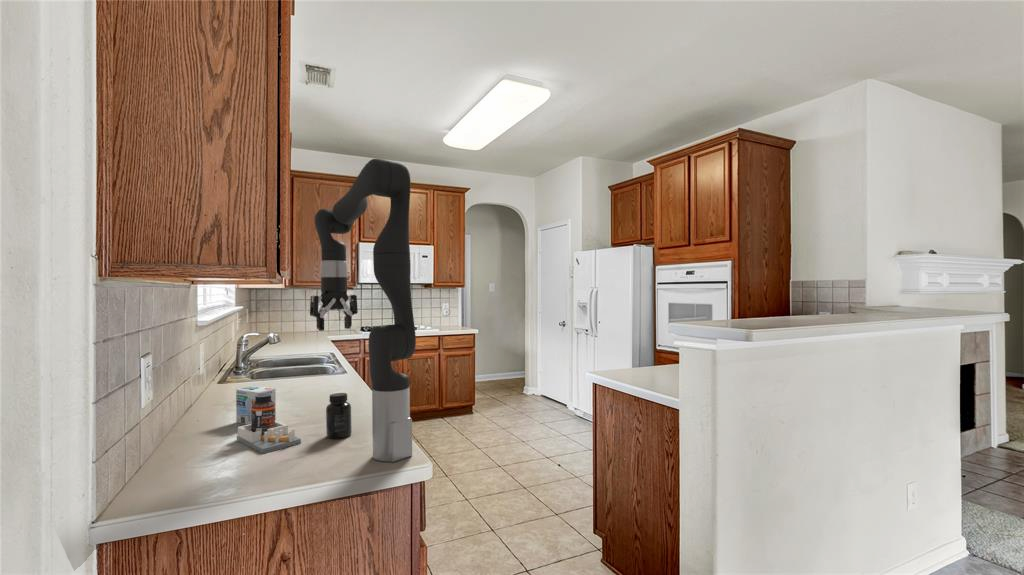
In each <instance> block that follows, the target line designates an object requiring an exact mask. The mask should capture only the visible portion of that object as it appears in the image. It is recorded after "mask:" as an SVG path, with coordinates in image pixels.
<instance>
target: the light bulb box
mask: <svg viewBox="0 0 1024 575" xmlns="http://www.w3.org/2000/svg"><path fill="white" fill-rule="evenodd" d="M276 389H277V388H275V387H268V386H260V385H251V386H246V387H242V388H238V389H236V390H235V391H236V392H235V394H236V397H235V398H236V400H235V401H236V402H235V403H236V405H235V407H236V408H235V409H236V411H235V412H236V415H235V416H236V417H235V418H236V419H235V420H236V423H238V424H241V425H249V424H251V408H252V405H253V404H254V403H255V401H256V400H255V396H256V395H259V394H271V400H272V401H273V402H274V403H275V420H276V421H277V419H276V418H277V417H276V416H277V414H276V412H277V411H276V410H277V409H276V407H277V406H276V405H277V404H276V403H277V402H276V400H277V399H276V398H277V397H276V394H277V393H276Z"/></svg>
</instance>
